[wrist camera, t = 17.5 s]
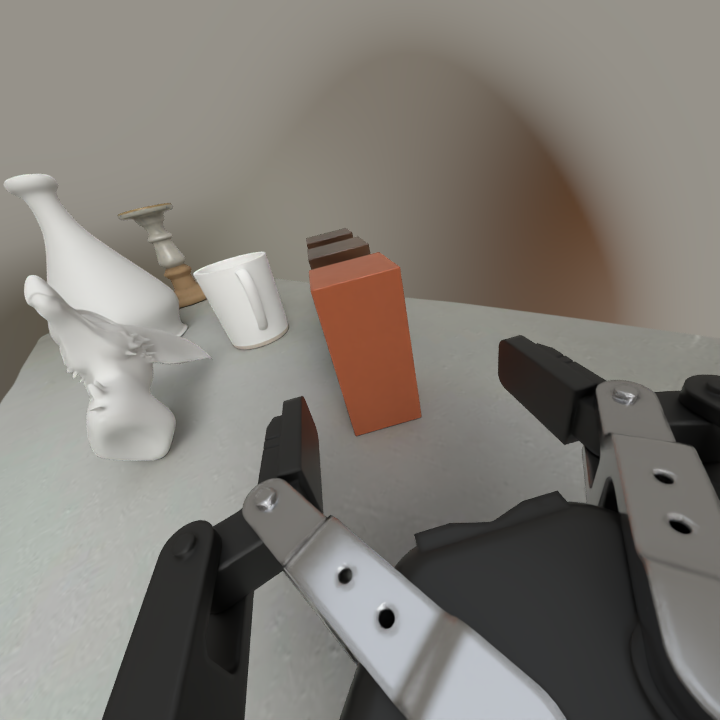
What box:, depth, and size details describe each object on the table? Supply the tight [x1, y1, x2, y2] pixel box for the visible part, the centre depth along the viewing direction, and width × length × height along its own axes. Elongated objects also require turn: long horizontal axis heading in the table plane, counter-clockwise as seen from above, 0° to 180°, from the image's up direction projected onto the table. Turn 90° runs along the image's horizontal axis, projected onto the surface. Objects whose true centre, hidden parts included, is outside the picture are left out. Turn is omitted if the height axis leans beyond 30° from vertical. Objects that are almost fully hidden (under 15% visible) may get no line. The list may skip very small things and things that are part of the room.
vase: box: [4, 174, 187, 346], centre depth 44 cm, size 17×17×25 cm
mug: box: [194, 252, 289, 350], centre depth 39 cm, size 11×9×10 cm
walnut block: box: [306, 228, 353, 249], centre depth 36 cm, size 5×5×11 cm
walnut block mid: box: [308, 237, 370, 270], centre depth 29 cm, size 5×5×11 cm
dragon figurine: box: [24, 275, 212, 461], centre depth 24 cm, size 12×18×13 cm
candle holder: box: [118, 203, 207, 308], centre depth 67 cm, size 12×12×20 cm
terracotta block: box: [309, 252, 422, 436], centre depth 21 cm, size 5×5×11 cm
